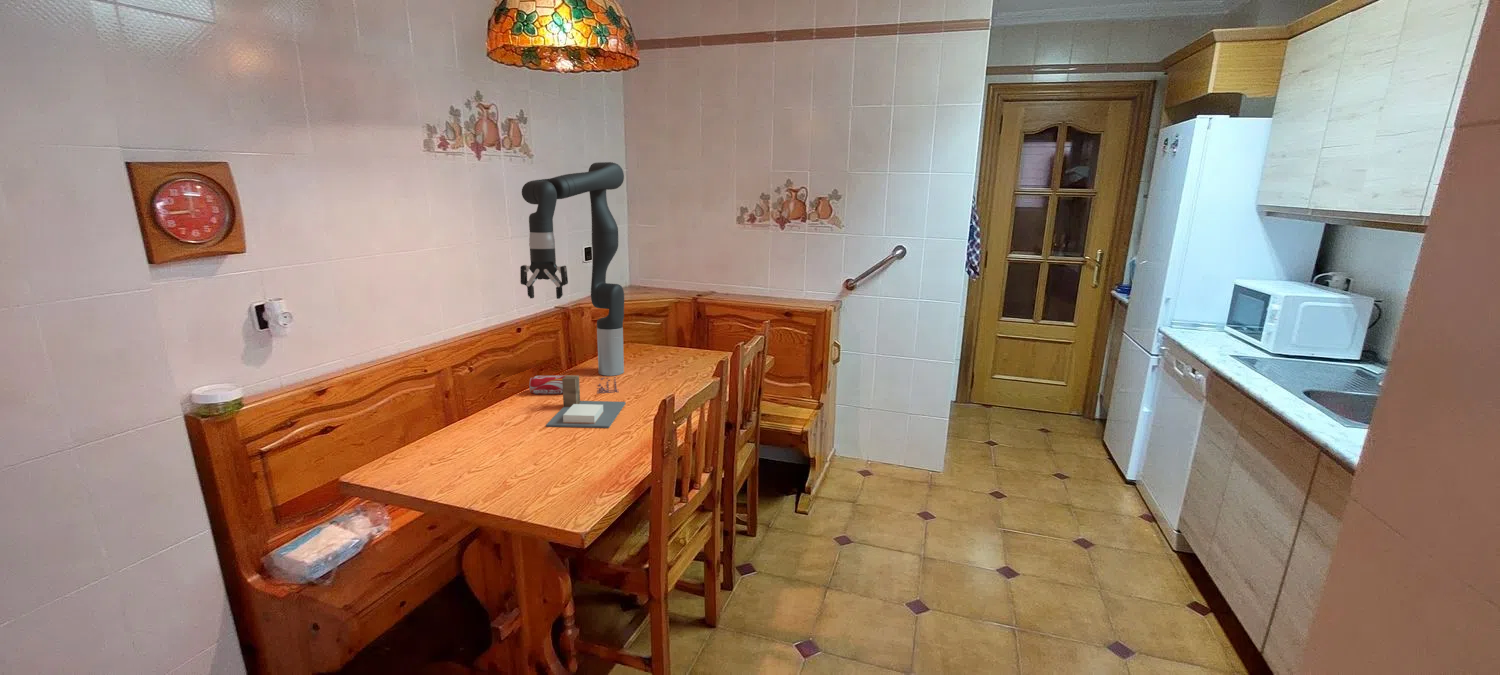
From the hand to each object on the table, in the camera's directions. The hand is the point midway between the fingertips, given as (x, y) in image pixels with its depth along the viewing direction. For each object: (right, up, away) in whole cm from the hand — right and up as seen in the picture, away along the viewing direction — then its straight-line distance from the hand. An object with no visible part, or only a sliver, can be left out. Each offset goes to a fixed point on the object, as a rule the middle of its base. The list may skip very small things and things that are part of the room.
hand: (545, 298), depth 192 cm
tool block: (+9, -34, -2) cm, 35 cm away
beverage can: (+4, -28, +10) cm, 30 cm away
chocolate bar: (+15, -30, +20) cm, 39 cm away
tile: (+16, -34, -8) cm, 38 cm away
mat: (+16, -36, -9) cm, 40 cm away
